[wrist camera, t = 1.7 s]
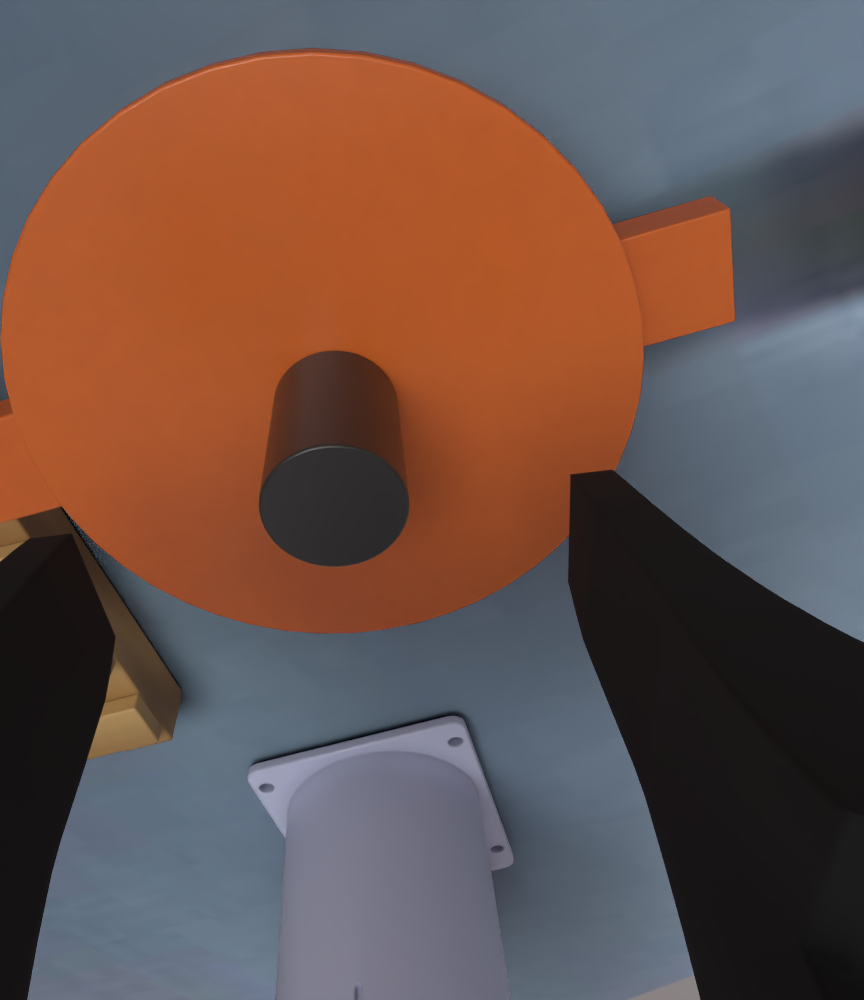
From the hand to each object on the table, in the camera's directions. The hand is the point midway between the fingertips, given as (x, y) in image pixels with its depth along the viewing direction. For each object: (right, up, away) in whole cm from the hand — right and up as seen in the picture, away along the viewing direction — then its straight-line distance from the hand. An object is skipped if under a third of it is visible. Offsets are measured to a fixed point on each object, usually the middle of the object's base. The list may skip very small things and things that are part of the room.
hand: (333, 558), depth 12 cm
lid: (0, +3, +4) cm, 5 cm away
